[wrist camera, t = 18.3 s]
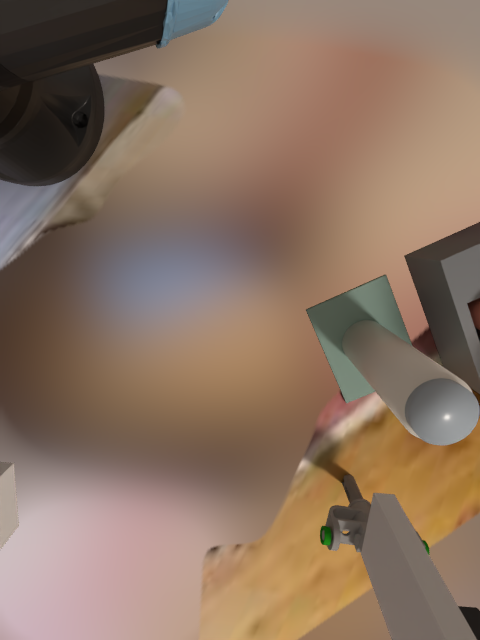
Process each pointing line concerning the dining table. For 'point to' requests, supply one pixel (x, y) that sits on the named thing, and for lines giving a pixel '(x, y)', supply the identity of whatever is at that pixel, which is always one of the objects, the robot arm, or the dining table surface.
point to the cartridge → (412, 384)
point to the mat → (345, 311)
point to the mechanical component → (349, 520)
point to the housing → (451, 299)
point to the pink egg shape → (475, 312)
